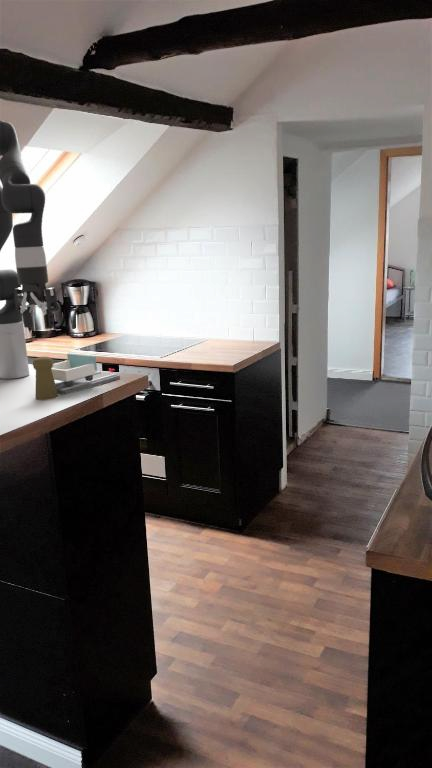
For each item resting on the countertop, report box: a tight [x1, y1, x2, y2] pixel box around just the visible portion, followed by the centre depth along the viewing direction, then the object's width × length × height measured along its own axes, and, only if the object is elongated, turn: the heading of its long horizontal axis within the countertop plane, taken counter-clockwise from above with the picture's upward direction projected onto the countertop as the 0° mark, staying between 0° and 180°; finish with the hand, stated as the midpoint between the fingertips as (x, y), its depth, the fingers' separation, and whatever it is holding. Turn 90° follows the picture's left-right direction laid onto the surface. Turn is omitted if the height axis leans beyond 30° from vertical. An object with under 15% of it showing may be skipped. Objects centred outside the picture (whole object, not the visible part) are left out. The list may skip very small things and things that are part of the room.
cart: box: [52, 353, 98, 387], centre depth 171 cm, size 11×11×7 cm
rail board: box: [55, 371, 121, 396], centre depth 175 cm, size 10×21×1 cm, turn 144°
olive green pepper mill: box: [32, 356, 59, 401], centre depth 162 cm, size 6×6×11 cm
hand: (38, 327), depth 159 cm, fingers open, 8 cm apart
